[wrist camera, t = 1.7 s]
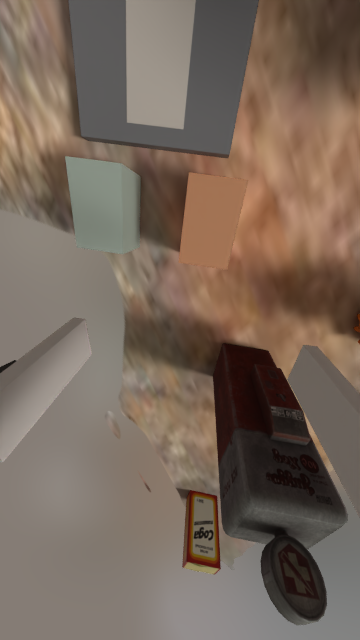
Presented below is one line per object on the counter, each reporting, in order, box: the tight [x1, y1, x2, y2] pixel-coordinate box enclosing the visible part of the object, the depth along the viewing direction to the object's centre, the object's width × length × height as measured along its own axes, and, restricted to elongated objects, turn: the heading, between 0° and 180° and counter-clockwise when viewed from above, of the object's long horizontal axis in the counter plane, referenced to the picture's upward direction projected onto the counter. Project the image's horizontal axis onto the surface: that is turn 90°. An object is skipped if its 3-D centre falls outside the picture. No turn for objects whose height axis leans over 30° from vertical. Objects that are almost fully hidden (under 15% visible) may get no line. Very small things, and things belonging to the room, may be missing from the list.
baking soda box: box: [182, 490, 221, 574], centre depth 60 cm, size 10×6×16 cm
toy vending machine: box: [213, 343, 348, 625], centre depth 26 cm, size 9×11×28 cm
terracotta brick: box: [179, 172, 248, 270], centre depth 24 cm, size 9×6×7 cm, turn 173°
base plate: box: [68, 0, 259, 158], centre depth 20 cm, size 13×18×2 cm
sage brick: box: [65, 156, 141, 254], centre depth 25 cm, size 9×6×7 cm, turn 173°
